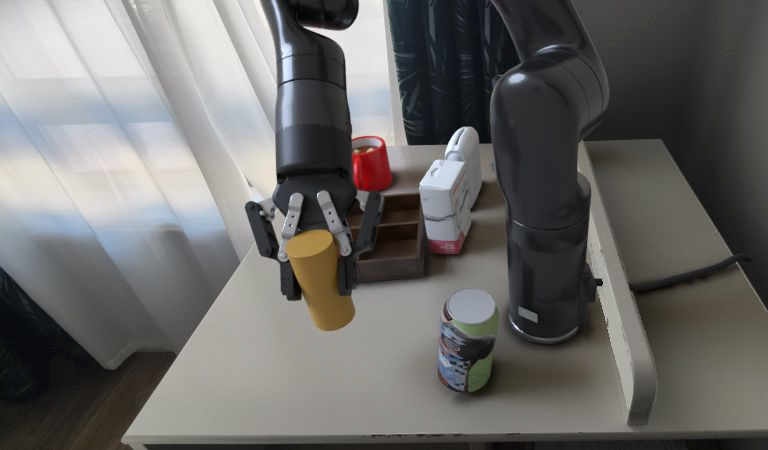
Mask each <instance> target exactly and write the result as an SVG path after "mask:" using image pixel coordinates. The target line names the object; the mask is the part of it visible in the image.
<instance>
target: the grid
mask: <svg viewBox="0 0 768 450" xmlns="http://www.w3.org/2000/svg"><path fill="white" fill-rule="evenodd" d="M381 195H382V196H383V198H384V199H385V203H384V208H383V212H382V216H381V220H380V224H379V229H378V233H377V237H376V241H375V246H374V248H373V249H372V250H371V251H366V252H363V253H361V254H360V255H358V257H357V259H356V268H357V284H361V283H363V284H364V283H372V282H381V281H382V282H385V281H393V280H404V279H405V280H406V279H415V278H424V271H425V270H424V269H425V252H426V251H425V249H426V235H427V231H426V225H425V219H424V213H423V208H422V202H421V197H420V191H416V192H404V193H394V194H393V193H392V194H381ZM363 214H364V211H362V210H361V208H360V201H359V200H357V202H356V203H355V205H354V206H353V208H352V209H351V211H350V212H349V214H348V215H347V217H346V220H347V222H348V225H349V228H350V230H351V233H352V238H353V241H354V240H357V239H358V235H359V231H360V227H361V223H362V219H363ZM320 230H326V231H328V232H330V230H327V229H320ZM330 233H331V232H330ZM332 236H333V235H332ZM333 239H334V237H333ZM334 243H335V246H336V249H337V252H338V255H339V258H340V253H339V250H338V247H337V245H336V242H335V239H334Z"/></svg>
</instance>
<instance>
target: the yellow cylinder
mask: <svg viewBox="0 0 768 450" xmlns="http://www.w3.org/2000/svg"><path fill="white" fill-rule="evenodd" d="M286 252H287V255H288V258H289V260H290V263H291V265H292V268H293V270H294V273H295V276H296V278H297V281H298V283H299V286H300V288H301V291H302V297H303V299H304V301H305V304H306V307H307V310H308V311H309V314H310V317H311V319H312V322H313V324H314V326H315V327H316V328H317V329H318V330H320V331H324V332H335V331H338V330H341V329H343V328H344V327H346V326H348V325H349V324H350V323H351V322H352V321H353V319H354V318H355V316H356V312H357V311H356V308H355V307H356V306H355V304H354V300H353V298H352V295H351V296H340V295H339V288H338V265H337V258H339V255H338V252H337V249H336V246H335V243H334V239H333V236H332V234H331V233H330V232H328V231H326V230H320V229H315V230H309V231H305V232H302V233H300V234H298V235H296V236H294V237H293V238H292V239H290V240H289V242H288V243H287V245H286Z"/></svg>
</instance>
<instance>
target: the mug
mask: <svg viewBox="0 0 768 450" xmlns="http://www.w3.org/2000/svg"><path fill="white" fill-rule="evenodd" d="M352 154H353V174H354V182H355V185H356V186H357V188H358V190H362V191H367V192H371V191H378V192H379V191H383V190H384V189H386V188H388V187H389V186H390V185H391V184H393V183H392V182H393V175H392V172H391V165H390V160H389V155H388V150H387V145H386V141H385V139H383V138H382V137H380V136H376V135H361V136H357V137H354V138H352Z"/></svg>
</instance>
